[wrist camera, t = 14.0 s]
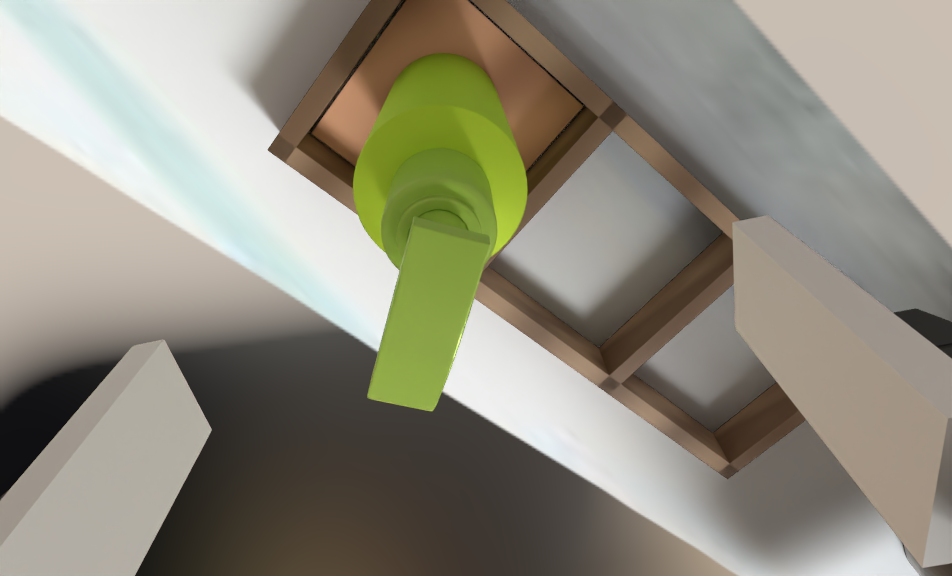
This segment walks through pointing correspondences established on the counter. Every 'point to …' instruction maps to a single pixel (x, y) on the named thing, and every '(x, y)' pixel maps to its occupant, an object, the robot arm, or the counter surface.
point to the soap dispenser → (436, 214)
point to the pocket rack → (537, 194)
